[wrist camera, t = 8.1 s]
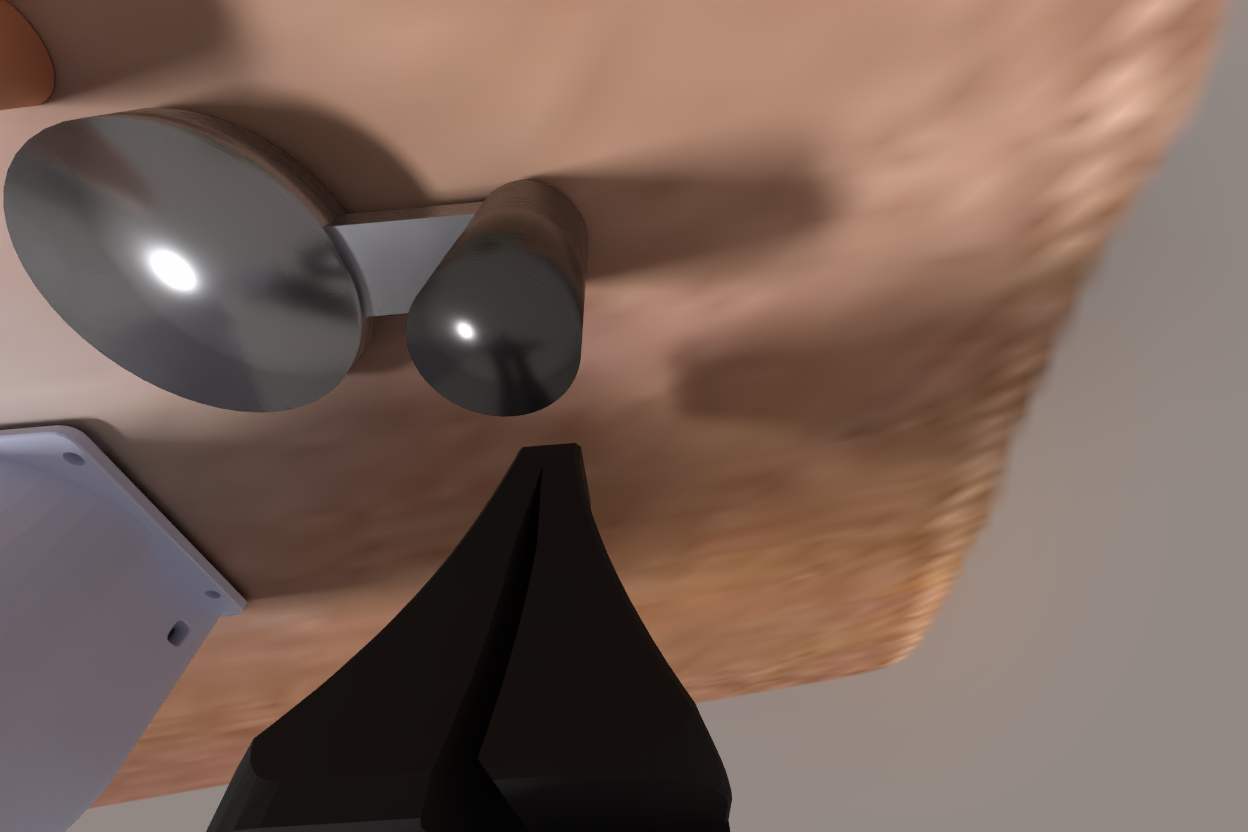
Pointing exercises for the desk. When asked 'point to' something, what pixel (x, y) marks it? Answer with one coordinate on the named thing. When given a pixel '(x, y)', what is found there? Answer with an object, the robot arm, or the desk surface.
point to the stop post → (22, 62)
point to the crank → (288, 268)
